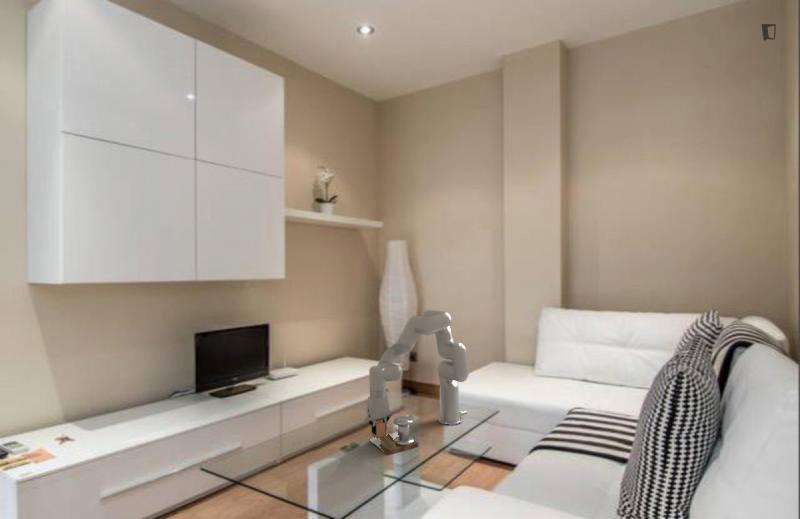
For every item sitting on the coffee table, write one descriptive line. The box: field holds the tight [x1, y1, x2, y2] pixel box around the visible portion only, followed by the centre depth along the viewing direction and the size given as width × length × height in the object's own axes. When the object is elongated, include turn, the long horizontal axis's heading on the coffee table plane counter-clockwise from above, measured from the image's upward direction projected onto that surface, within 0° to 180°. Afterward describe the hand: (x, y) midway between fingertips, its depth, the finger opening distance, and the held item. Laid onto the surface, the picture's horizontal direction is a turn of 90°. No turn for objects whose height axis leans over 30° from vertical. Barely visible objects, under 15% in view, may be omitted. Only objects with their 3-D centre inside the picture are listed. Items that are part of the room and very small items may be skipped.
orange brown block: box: [373, 420, 387, 439], centre depth 207 cm, size 4×4×6 cm
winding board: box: [371, 432, 419, 456], centre depth 206 cm, size 16×18×4 cm
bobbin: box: [393, 415, 415, 446], centre depth 204 cm, size 9×9×10 cm
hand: (379, 432), depth 207 cm, fingers closed on orange brown block, 4 cm apart
